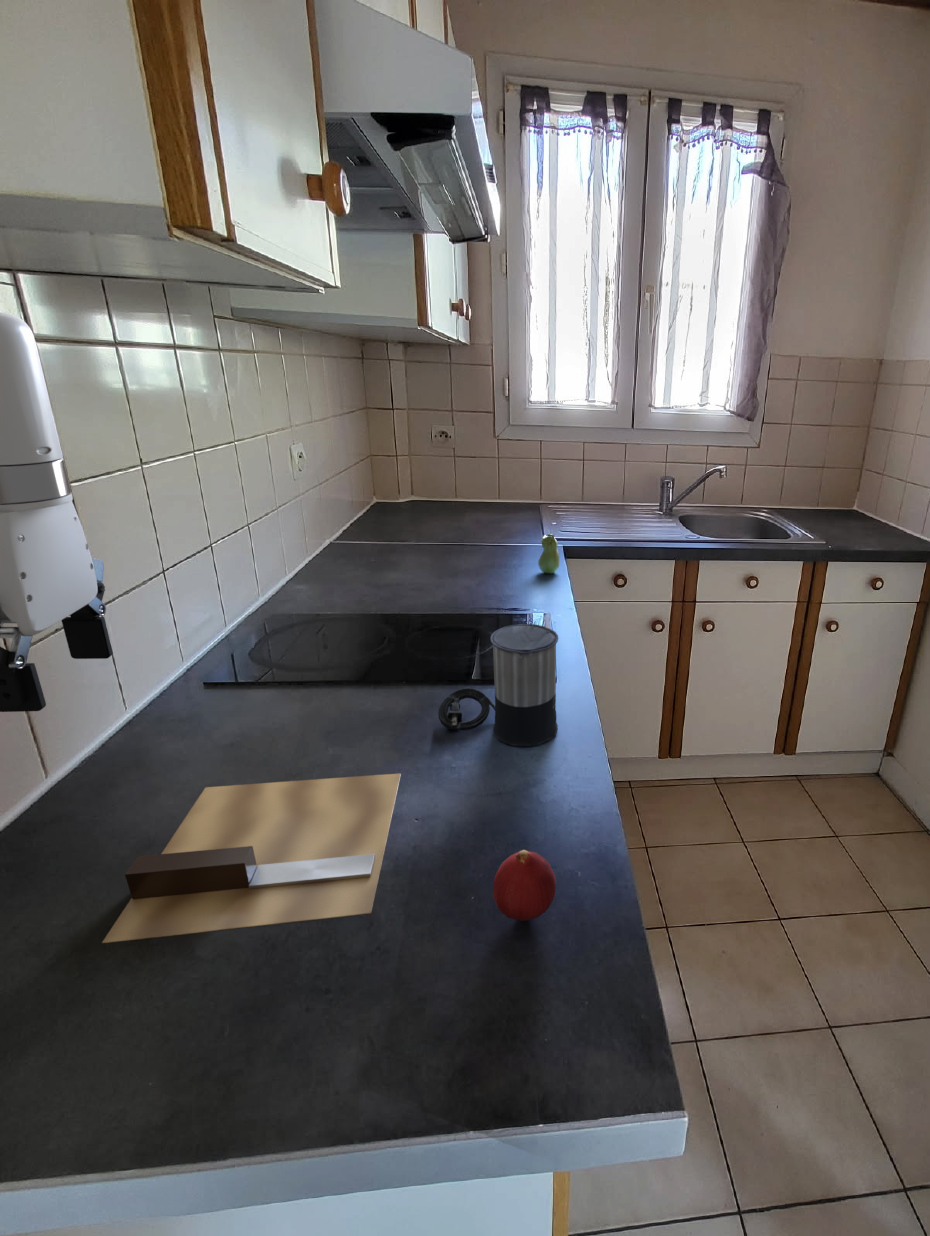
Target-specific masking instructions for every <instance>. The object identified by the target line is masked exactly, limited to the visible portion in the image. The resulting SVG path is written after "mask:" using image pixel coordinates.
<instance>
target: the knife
mask: <svg viewBox="0 0 930 1236" xmlns="http://www.w3.org/2000/svg"><path fill="white" fill-rule="evenodd" d="M374 860H375V854H369V855H358V856H347V857H337V858H326V859H316V860H305V861H295V862H284V863H274V864H263V865H258V866H257V864H256V859H255V855H254V850H253V846H247V847H236V848H225V849H213V850H202V851H191V852H180V853H169V854H161V853H160V854H159V853H158V854H149V855H138V856H137V857H136V858H135V860H133V862H132V863H131V865H130V866H129V868H128V870H127V871H126V872H125V873H124V876H125V880H126V883H127V887H128V890H129V893H130V896H131V898H132V899H143V898H152V897H162V896H172V895H182V894H192V893H202V892H212V891H222V890H232V889H242V888H249V889H254V888H264V887H274V886H283V885H293V884H303V883H313V882H323V881H333V880H343V879H353V878H363V877H371V873H372V868H373V864H374Z"/></svg>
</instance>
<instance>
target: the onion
mask: <svg viewBox="0 0 930 1236" xmlns="http://www.w3.org/2000/svg"><path fill="white" fill-rule="evenodd" d="M492 885H493V886H492V896H493V900H494V903H495V905H496V907H497V909H498V910H499V911H500V912H501V914H503V915H504V916H505V917H507V918H509V919H512V920H515V921H530V920H534V919H537V918H540V916H542V915H543V914H545V913H546V912H547V911H548V909H549V908H550V906H551V905H552V903H553V901H554V900H555V895H556V888H557V879H556V875H555V872H554V870H553V868H552V866H551V863H550V862H549V861H548V860H547V859H546V858H545V857H543V856H542V855H540V854H539V853H538V852H535V851H531V850H526V849H521V850H519V851H517V852H515V853H513V854H511V855H510V856H508V857H507V858H505V860H503V862H502V863H501V864H500V866H499V868H498V870H497V871H496V873H495V876H494V879H493V884H492Z"/></svg>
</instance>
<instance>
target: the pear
mask: <svg viewBox="0 0 930 1236" xmlns="http://www.w3.org/2000/svg"><path fill="white" fill-rule="evenodd" d="M558 544H559V543H558V541H557V539H556V537H555V534H552V533H548V534H544V535H542V539H541V547H542V550H543V551H541V552H542V553H541V555H540V557H539V558H538V562H537V565H538V568H539V570H540V571H541V572H542V573H545V574H554V573H555V572H556V571H557V572H558V569H559V567H560V552H559V550H558Z"/></svg>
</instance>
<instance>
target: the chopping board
mask: <svg viewBox="0 0 930 1236" xmlns="http://www.w3.org/2000/svg"><path fill="white" fill-rule="evenodd" d="M401 776H402V773H401V772H400V773H399V772H398V773H387V774H373V775H371V774H370V775H359V776H345V777H344V776H343V777H332V778H331V777H330V778H317V779H303V780H290V781H276V782H262V783H261V782H260V783H248V784H233V785H220V786H219V785H218V786H205V787H204V789H203V791H202V792H201V793H200V795H199V796H198V798H197V799H196V801H195V802H194V803H193V805H192V806H191V808H190V810H189V811H188V812H187V814H186V816H185V817H184V818H183V820H182V822H181V823H180V825H179V827H178V828H177V829H176V831H175V832H174V833H173V835H172V837H171V838H170V839H169V841H168V843H167V844H166V845H165V847H164V849H163V850H162V851H161V853H160V854H169V853H180V852H191V851H202V850H213V849H225V848H236V847H247V846H253V850H254V855H255V859H256V864H257V866H258V865H263V864H274V863H284V862H295V861H305V860H316V859H326V858H337V857H347V856H358V855H369V854H375V860H374V864H373V868H372V873H371V877H363V878H353V879H343V880H333V881H323V882H313V883H303V884H293V885H283V886H274V887H264V888H254V889H249V888H242V889H232V890H222V891H212V892H202V893H192V894H182V895H172V896H162V897H152V898H143V899H132V897H131V898H130V899H129V901H128V902H127V904H126V906H125V907H124V909H123V910H122V911H121V913H120V915H119V916H118V918H117V919H116V920H115V922H114V924H113V925H112V927H111V928H110V930H109V931H108V933H107V934H106V935H105V937H104V939H103V940H102V942H101V943H102V944H108V943H118V942H126V941H134V940H144V939H145V940H146V939H154V938H162V937H163V938H164V937H171V936H172V937H173V936H179V935H190V934H199V933H208V932H218V931H225V930H226V931H227V930H234V929H235V930H236V929H243V928H254V927H260V926H261V927H263V926H271V925H280V924H287V923H288V924H289V923H290V924H291V923H298V922H299V923H300V922H307V921H315V920H316V921H317V920H324V919H325V920H327V919H334V918H343V917H353V916H362V915H371V914H372V912H373V908H374V903H375V899H376V898H375V897H376V893H377V888H378V884H379V878H380V874H381V870H382V865H383V862H384V861H383V860H384V856H385V851H386V846H387V841H388V837H389V833H390V832H389V831H390V827H391V823H392V818H393V814H394V809H395V806H396V805H395V804H396V799H397V795H398V790H399V785H400V782H401Z"/></svg>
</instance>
